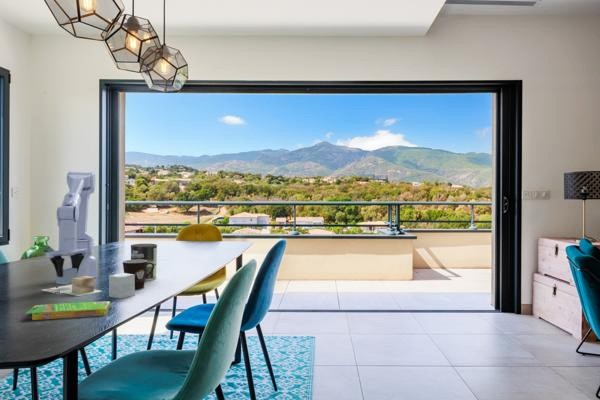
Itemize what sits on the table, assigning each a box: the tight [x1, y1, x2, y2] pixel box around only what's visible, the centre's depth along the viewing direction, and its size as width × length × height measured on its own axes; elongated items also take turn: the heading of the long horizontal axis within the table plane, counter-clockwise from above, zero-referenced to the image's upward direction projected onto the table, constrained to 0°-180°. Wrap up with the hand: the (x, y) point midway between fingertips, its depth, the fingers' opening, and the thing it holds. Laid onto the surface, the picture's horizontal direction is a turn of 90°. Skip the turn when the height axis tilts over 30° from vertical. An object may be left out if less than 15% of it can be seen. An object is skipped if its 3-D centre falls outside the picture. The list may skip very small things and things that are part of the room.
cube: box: [55, 267, 77, 285], centre depth 154 cm, size 5×5×5 cm
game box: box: [24, 300, 111, 321], centre depth 123 cm, size 3×10×20 cm
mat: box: [64, 288, 104, 297], centre depth 148 cm, size 9×9×1 cm
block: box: [71, 276, 95, 294], centre depth 149 cm, size 5×5×5 cm
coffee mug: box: [122, 259, 154, 291], centre depth 158 cm, size 12×9×10 cm
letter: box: [42, 284, 72, 294], centre depth 154 cm, size 13×10×1 cm
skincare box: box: [108, 272, 136, 299], centre depth 144 cm, size 6×6×7 cm
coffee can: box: [130, 243, 158, 282], centre depth 174 cm, size 10×10×14 cm
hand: (67, 275), depth 154 cm, fingers closed on cube, 5 cm apart
